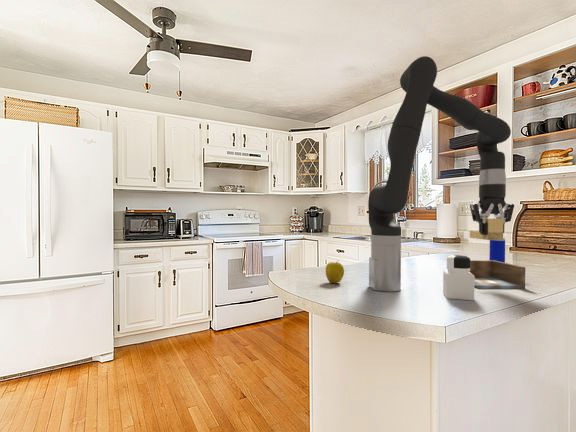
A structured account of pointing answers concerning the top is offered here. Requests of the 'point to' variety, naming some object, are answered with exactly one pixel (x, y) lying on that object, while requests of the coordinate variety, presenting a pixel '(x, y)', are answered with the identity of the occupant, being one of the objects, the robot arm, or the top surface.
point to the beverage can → (497, 250)
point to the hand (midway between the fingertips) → (491, 234)
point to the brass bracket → (490, 230)
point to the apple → (334, 272)
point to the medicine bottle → (458, 278)
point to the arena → (497, 275)
